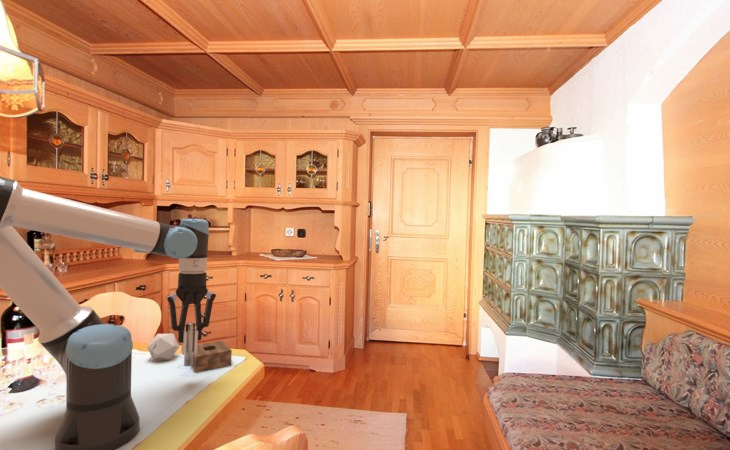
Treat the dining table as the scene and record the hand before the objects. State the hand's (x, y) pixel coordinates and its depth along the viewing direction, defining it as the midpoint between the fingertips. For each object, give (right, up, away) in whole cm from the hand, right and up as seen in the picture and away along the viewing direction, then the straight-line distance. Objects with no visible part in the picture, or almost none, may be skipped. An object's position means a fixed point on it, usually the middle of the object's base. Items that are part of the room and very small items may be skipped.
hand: (189, 352), depth 110 cm
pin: (0, -4, 0) cm, 4 cm away
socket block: (0, -9, +15) cm, 17 cm away
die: (-17, -8, +18) cm, 26 cm away
